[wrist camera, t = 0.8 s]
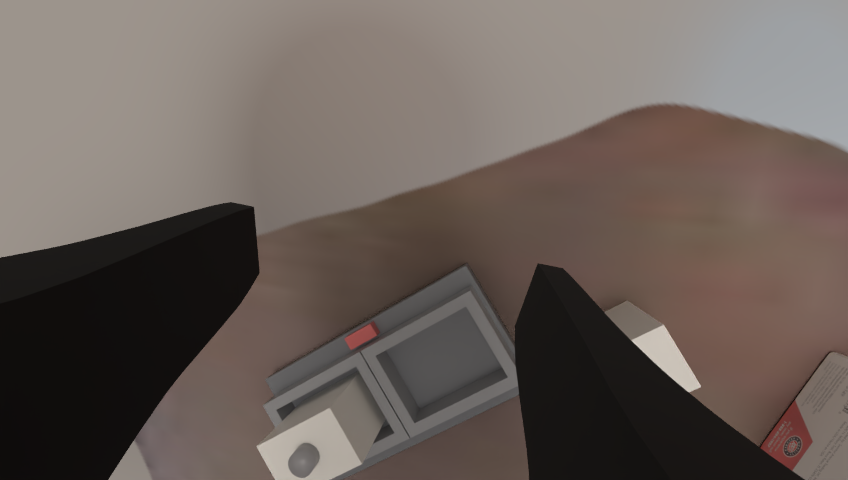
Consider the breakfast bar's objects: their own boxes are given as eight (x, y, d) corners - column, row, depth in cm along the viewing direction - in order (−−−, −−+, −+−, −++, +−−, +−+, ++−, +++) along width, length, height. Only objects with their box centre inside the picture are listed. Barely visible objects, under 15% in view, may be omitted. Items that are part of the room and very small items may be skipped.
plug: (656, 348, 27) (711, 395, 20) (579, 385, 28) (606, 440, 22) (627, 300, 27) (671, 330, 21) (551, 338, 29) (569, 378, 22)
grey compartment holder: (535, 376, 29) (552, 444, 21) (334, 474, 32) (278, 565, 24) (467, 262, 29) (456, 282, 21) (275, 372, 33) (201, 426, 24)
